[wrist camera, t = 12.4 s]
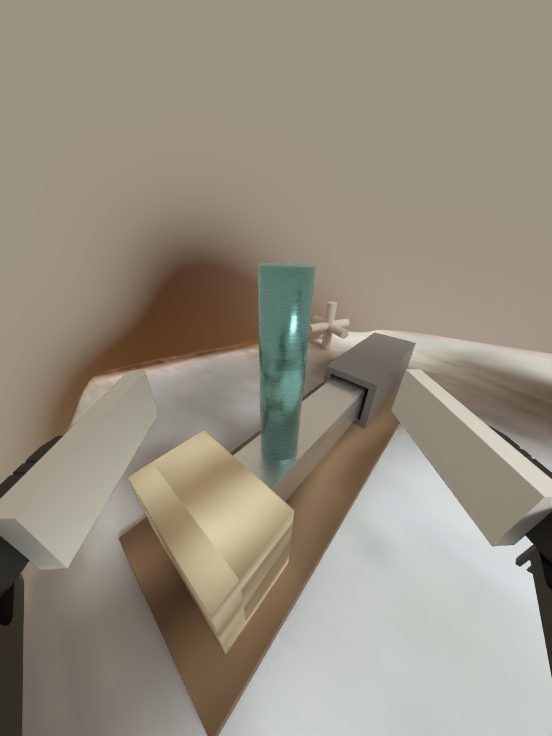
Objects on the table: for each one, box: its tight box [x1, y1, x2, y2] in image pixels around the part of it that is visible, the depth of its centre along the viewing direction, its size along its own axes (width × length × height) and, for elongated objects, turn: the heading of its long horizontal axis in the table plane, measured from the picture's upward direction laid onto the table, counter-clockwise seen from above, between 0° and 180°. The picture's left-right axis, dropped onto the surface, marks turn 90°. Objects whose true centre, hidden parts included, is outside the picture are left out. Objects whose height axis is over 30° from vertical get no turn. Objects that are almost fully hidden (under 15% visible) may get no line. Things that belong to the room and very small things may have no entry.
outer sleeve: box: [323, 333, 416, 429], centre depth 33 cm, size 6×16×6 cm, turn 138°
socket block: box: [128, 430, 294, 654], centre depth 15 cm, size 9×6×7 cm, turn 48°
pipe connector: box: [309, 302, 349, 349], centre depth 49 cm, size 10×10×10 cm
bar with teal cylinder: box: [233, 262, 369, 502], centre depth 19 cm, size 4×24×18 cm, turn 138°
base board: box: [119, 380, 402, 736], centre depth 28 cm, size 12×42×1 cm, turn 138°
